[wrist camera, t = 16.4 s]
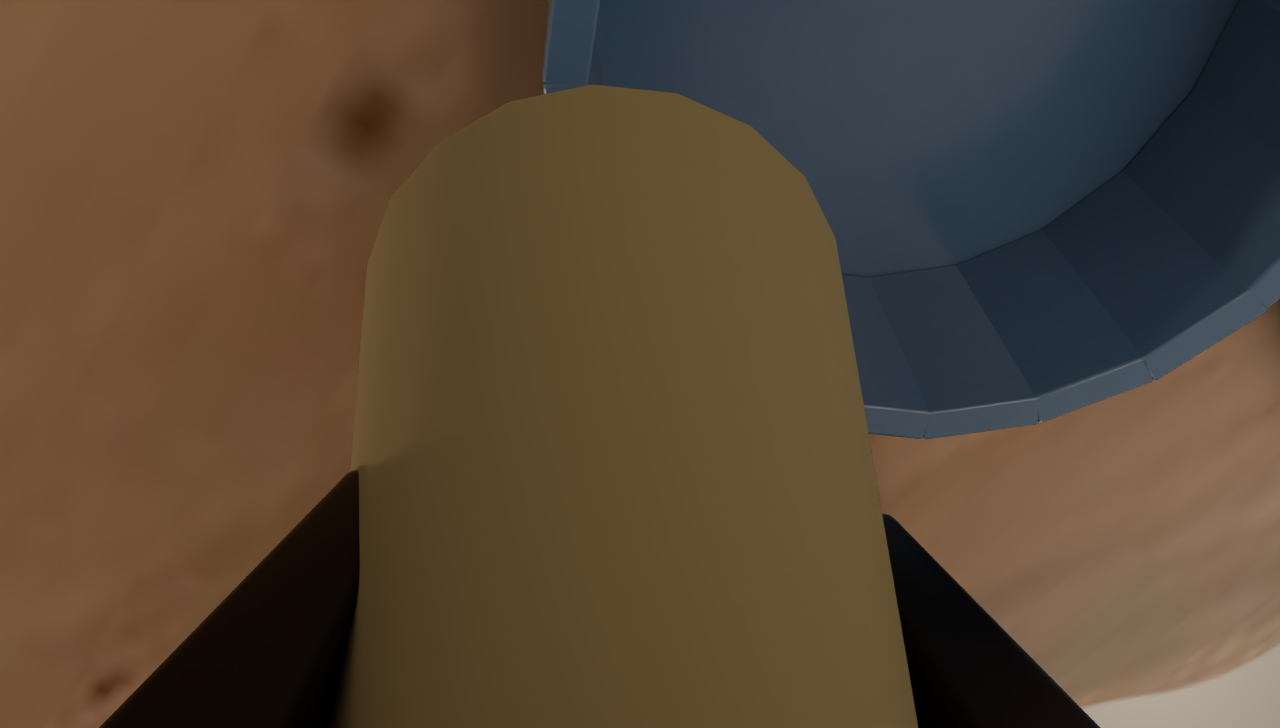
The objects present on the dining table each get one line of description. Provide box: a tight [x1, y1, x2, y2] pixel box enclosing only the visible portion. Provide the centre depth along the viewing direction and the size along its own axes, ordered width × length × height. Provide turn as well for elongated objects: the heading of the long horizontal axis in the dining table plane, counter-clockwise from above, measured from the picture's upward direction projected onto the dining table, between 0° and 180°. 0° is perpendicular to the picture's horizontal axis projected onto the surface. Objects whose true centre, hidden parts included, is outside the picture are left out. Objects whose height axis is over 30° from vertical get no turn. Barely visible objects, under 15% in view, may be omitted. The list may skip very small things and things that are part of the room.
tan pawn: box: [329, 84, 918, 728], centre depth 8 cm, size 6×6×11 cm
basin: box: [542, 0, 1280, 439], centre depth 17 cm, size 14×14×5 cm
